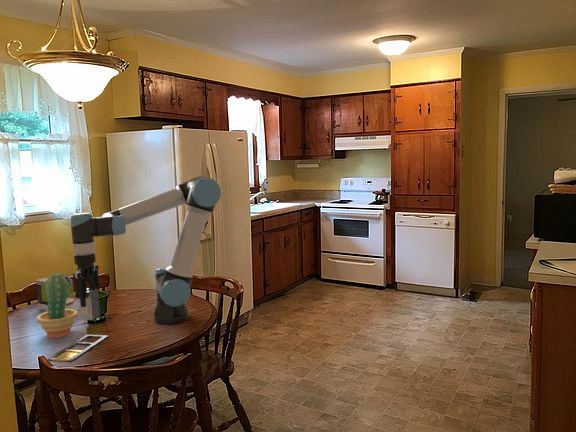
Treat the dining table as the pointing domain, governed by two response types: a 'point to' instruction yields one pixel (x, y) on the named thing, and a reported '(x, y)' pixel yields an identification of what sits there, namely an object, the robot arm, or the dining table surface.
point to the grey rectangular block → (91, 304)
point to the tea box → (42, 294)
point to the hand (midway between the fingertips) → (90, 311)
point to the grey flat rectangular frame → (74, 354)
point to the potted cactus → (57, 307)
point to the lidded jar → (69, 303)
